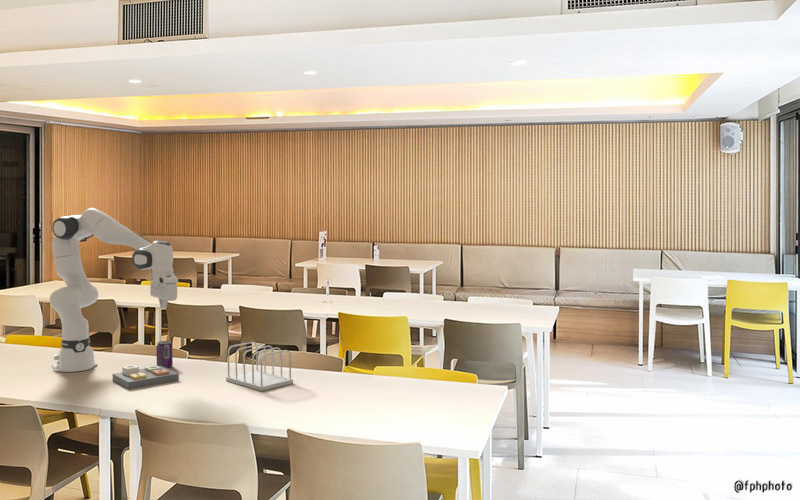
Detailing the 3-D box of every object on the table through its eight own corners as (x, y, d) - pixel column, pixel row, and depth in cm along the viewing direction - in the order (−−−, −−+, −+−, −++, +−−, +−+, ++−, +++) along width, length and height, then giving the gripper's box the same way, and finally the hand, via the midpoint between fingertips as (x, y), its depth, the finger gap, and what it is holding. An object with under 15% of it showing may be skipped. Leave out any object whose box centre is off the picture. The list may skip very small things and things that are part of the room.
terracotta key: (152, 377, 298) (152, 370, 297) (163, 375, 301) (163, 368, 301) (157, 380, 294) (157, 372, 294) (168, 378, 297) (168, 370, 297)
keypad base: (112, 380, 296) (112, 373, 296) (161, 372, 311) (161, 365, 311) (128, 389, 283) (128, 382, 283) (178, 380, 298) (178, 373, 298)
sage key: (145, 374, 303) (145, 366, 303) (156, 372, 307) (156, 365, 307) (149, 376, 300) (149, 369, 299) (161, 374, 303) (161, 367, 303)
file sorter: (293, 383, 295) (293, 348, 294) (261, 392, 282) (261, 355, 280) (257, 373, 311) (257, 340, 310) (225, 381, 298) (225, 346, 297)
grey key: (122, 373, 296) (122, 366, 296) (134, 371, 300) (134, 364, 300) (127, 376, 293) (126, 368, 292) (138, 374, 296) (138, 366, 296)
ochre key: (129, 381, 291) (129, 374, 291) (141, 379, 294) (141, 372, 294) (134, 384, 287) (134, 376, 287) (146, 382, 291) (146, 374, 290)
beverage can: (175, 365, 323) (174, 340, 323) (168, 369, 316) (168, 344, 316) (160, 365, 324) (160, 340, 323) (154, 368, 317) (153, 343, 316)
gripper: (146, 275, 304) (146, 306, 305) (165, 280, 289) (166, 312, 290) (160, 274, 308) (160, 305, 309) (179, 279, 293) (180, 310, 294)
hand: (163, 308), depth 299 cm, fingers closed
